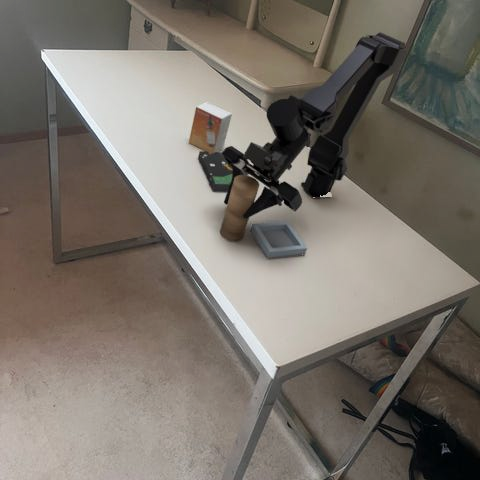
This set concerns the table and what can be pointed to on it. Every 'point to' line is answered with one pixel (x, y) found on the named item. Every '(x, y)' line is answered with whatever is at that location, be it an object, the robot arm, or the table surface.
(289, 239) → the collar
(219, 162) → the disk drive
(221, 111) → the small box
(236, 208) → the walnut pin
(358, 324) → the table surface
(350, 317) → the table surface
